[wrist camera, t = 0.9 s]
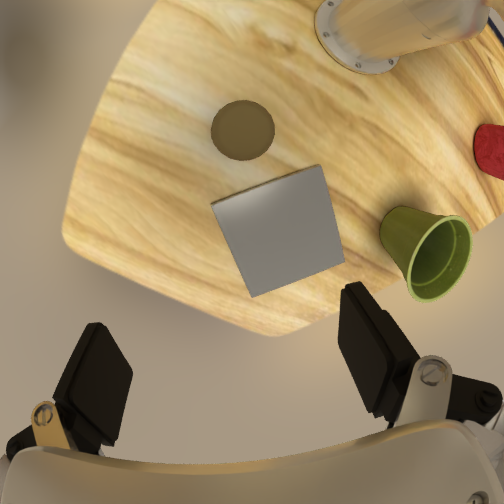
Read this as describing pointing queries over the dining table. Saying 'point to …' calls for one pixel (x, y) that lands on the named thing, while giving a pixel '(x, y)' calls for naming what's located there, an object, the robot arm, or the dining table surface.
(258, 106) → the brown pawn
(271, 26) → the dining table surface
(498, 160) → the wine bottle
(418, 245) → the plant pot
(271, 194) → the tile
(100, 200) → the dining table surface
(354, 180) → the dining table surface
